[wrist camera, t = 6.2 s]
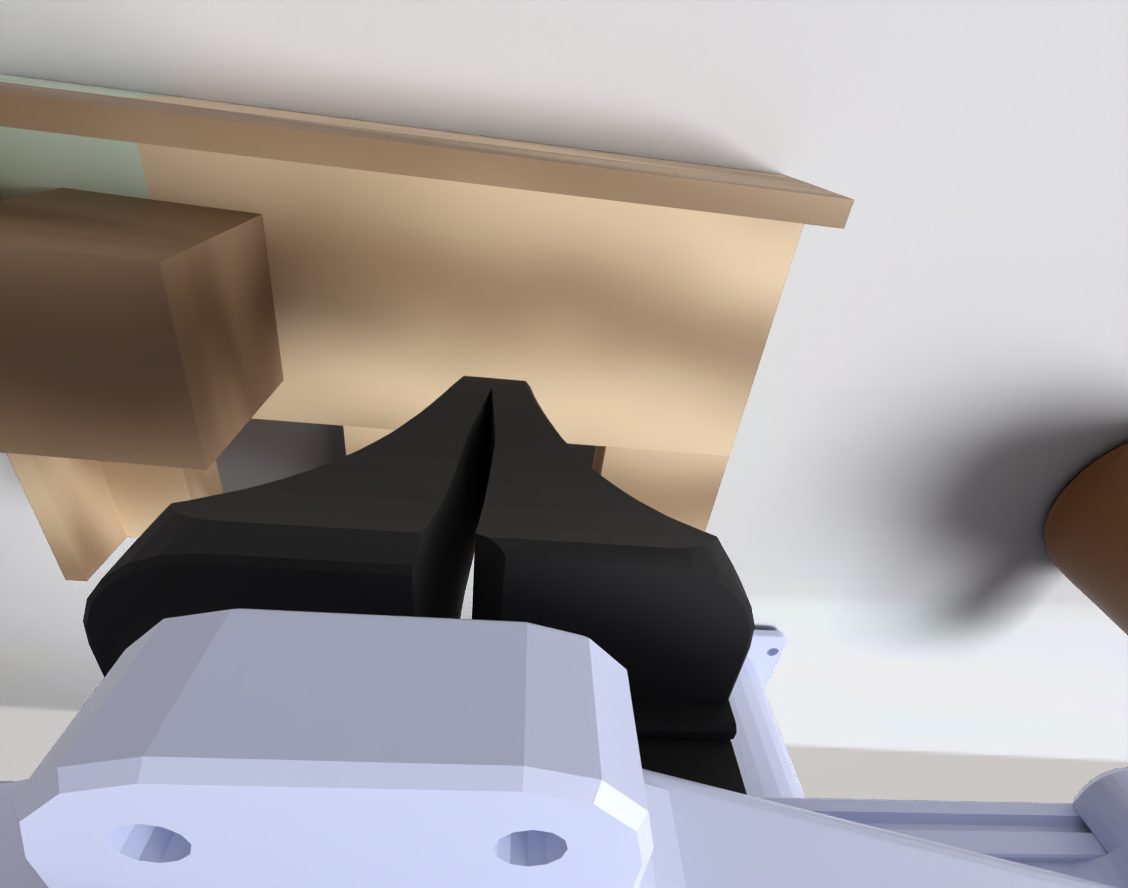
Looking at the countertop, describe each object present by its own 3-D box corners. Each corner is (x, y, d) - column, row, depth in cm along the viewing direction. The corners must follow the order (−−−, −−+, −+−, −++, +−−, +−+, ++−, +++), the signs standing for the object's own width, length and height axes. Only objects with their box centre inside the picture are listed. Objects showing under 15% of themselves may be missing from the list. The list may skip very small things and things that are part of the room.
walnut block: (283, 380, 16) (206, 470, 12) (114, 362, 16) (-20, 450, 12) (262, 214, 14) (160, 262, 10) (62, 187, 13) (-125, 227, 10)
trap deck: (680, 533, 23) (706, 612, 19) (142, 499, 21) (66, 579, 17) (786, 175, 16) (854, 199, 12) (0, 73, 14) (-173, 69, 11)
